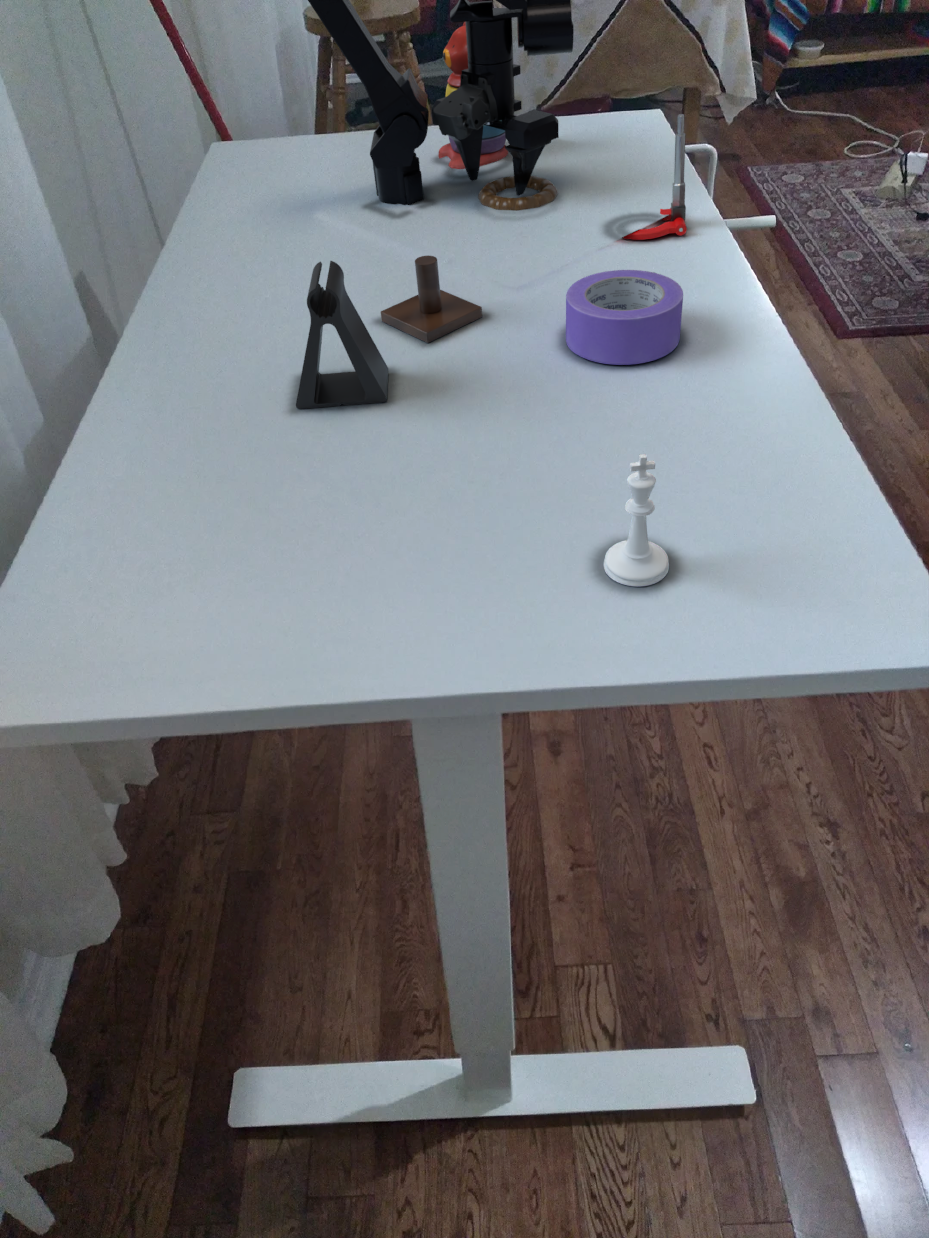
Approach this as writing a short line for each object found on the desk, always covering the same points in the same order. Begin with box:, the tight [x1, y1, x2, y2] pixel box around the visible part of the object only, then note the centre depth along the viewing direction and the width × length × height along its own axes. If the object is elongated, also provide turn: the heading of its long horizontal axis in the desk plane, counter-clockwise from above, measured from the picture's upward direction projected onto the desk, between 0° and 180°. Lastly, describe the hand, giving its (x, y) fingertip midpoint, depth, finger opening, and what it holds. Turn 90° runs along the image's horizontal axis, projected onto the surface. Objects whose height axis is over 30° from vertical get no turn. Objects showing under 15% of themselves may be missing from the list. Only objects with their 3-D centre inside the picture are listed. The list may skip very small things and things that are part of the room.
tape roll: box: [565, 269, 684, 366], centre depth 99 cm, size 12×12×5 cm
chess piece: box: [603, 453, 670, 588], centre depth 71 cm, size 5×5×10 cm
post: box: [380, 255, 483, 344], centre depth 105 cm, size 8×8×7 cm
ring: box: [477, 175, 559, 212], centre depth 130 cm, size 10×10×2 cm
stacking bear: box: [437, 22, 509, 170], centre depth 138 cm, size 11×10×18 cm
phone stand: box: [295, 260, 389, 410], centre depth 93 cm, size 9×6×12 cm, turn 91°
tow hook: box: [621, 113, 688, 241], centre depth 117 cm, size 8×13×9 cm
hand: (496, 187), depth 132 cm, fingers open, 9 cm apart
